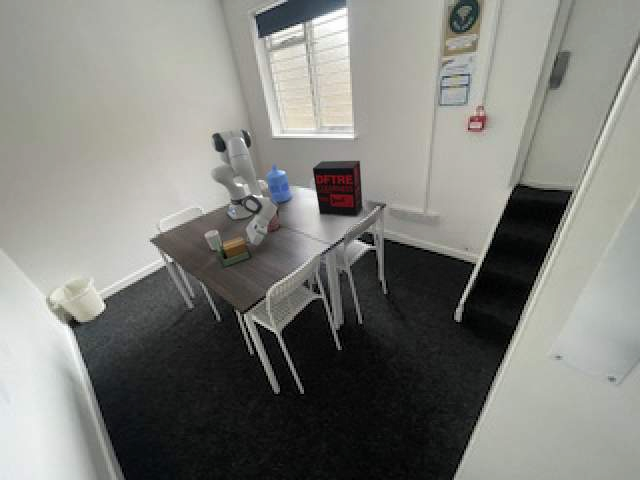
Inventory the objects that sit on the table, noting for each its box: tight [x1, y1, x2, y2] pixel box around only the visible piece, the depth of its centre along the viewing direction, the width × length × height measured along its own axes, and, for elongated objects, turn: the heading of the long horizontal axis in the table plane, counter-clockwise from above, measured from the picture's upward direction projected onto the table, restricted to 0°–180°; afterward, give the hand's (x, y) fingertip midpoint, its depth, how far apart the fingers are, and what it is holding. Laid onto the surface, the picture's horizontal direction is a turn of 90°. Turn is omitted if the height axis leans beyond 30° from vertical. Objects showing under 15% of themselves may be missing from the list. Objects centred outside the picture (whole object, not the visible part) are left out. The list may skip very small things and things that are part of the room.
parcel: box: [222, 236, 248, 259], centre depth 148 cm, size 11×9×9 cm
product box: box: [312, 160, 363, 217], centre depth 172 cm, size 26×14×32 cm, turn 67°
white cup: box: [204, 229, 223, 251], centre depth 158 cm, size 8×8×10 cm
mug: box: [267, 208, 280, 232], centre depth 170 cm, size 13×9×14 cm
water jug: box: [265, 164, 292, 204], centre depth 205 cm, size 16×16×28 cm
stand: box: [216, 239, 250, 268], centre depth 147 cm, size 14×14×10 cm
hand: (247, 244), depth 150 cm, fingers closed
